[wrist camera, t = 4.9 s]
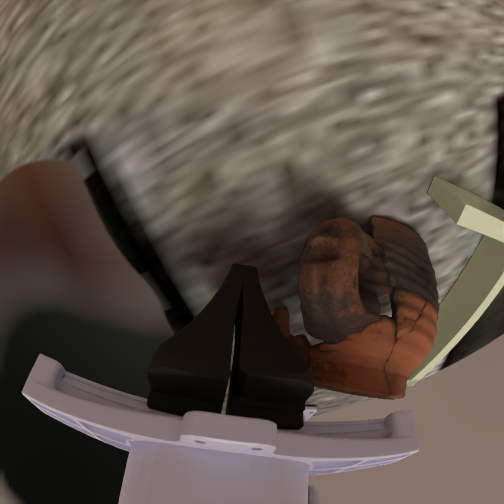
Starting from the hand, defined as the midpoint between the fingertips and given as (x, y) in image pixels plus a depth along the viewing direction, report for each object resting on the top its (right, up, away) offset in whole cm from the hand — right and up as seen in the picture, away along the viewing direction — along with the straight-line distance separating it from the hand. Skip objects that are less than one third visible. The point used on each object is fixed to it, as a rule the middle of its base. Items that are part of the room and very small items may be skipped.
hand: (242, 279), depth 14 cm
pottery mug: (+6, 0, +1) cm, 6 cm away
